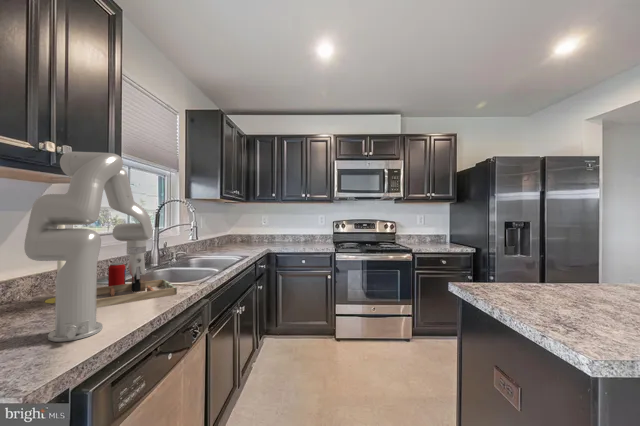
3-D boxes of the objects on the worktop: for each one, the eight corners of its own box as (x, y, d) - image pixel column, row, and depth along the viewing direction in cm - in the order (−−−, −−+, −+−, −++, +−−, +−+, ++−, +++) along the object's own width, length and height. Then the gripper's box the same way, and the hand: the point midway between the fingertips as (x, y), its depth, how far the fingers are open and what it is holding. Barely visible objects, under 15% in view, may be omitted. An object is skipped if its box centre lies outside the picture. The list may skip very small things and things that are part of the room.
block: (145, 291, 136) (145, 282, 136) (132, 292, 133) (132, 283, 133) (144, 288, 140) (144, 280, 140) (132, 290, 137) (132, 281, 137)
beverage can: (128, 287, 143) (128, 262, 143) (117, 290, 136) (118, 264, 136) (116, 286, 143) (116, 262, 144) (104, 290, 137) (104, 264, 137)
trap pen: (176, 294, 130) (176, 287, 130) (91, 308, 111) (91, 300, 111) (164, 285, 147) (164, 279, 147) (88, 295, 127) (88, 288, 127)
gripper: (149, 251, 129) (148, 293, 129) (142, 248, 140) (142, 286, 140) (129, 252, 124) (128, 296, 124) (124, 249, 135) (123, 289, 135)
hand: (136, 290), depth 132 cm, fingers closed
